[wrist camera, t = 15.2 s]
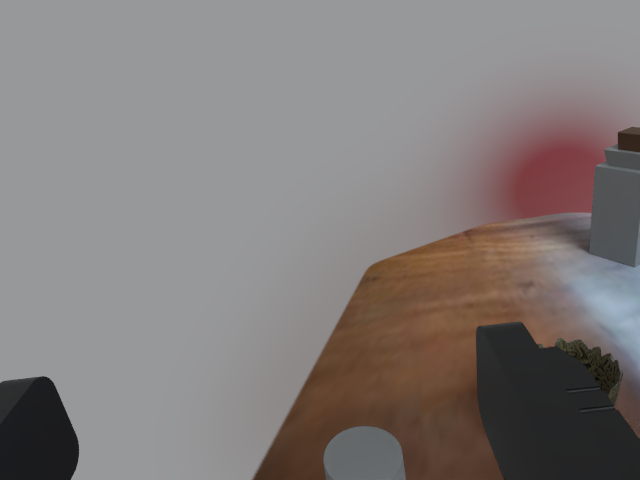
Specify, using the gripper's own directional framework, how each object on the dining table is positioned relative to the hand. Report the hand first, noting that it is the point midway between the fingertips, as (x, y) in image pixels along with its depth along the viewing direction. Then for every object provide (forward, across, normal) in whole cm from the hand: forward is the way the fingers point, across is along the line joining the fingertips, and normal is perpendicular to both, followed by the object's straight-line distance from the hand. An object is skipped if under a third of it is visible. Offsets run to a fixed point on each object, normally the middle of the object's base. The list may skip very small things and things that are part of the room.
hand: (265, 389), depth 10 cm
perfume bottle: (+62, -42, +32) cm, 81 cm away
